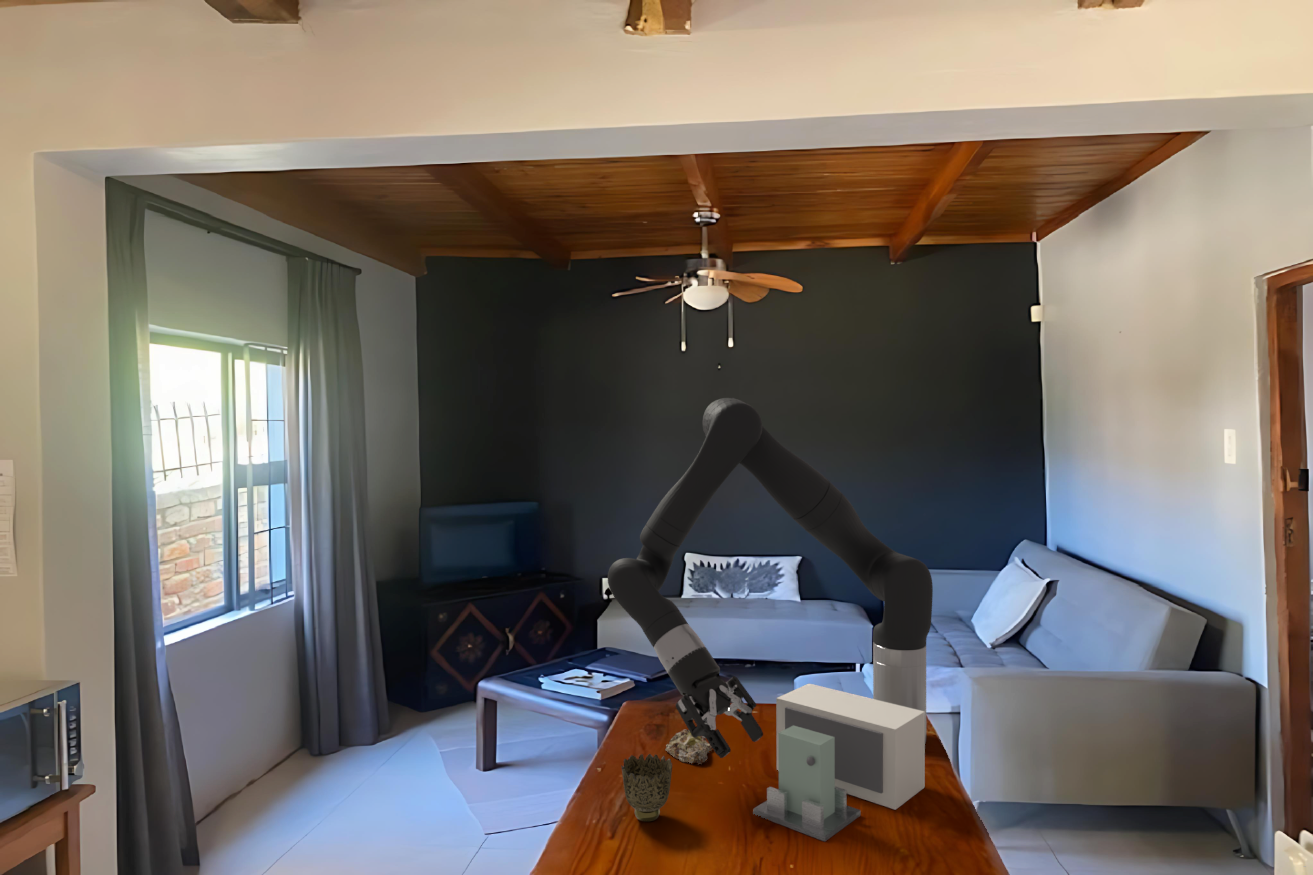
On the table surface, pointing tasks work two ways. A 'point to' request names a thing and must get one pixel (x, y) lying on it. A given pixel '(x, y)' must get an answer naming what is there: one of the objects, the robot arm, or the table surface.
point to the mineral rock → (688, 747)
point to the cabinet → (862, 741)
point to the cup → (647, 784)
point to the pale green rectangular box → (807, 768)
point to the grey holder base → (808, 814)
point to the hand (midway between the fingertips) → (743, 746)
